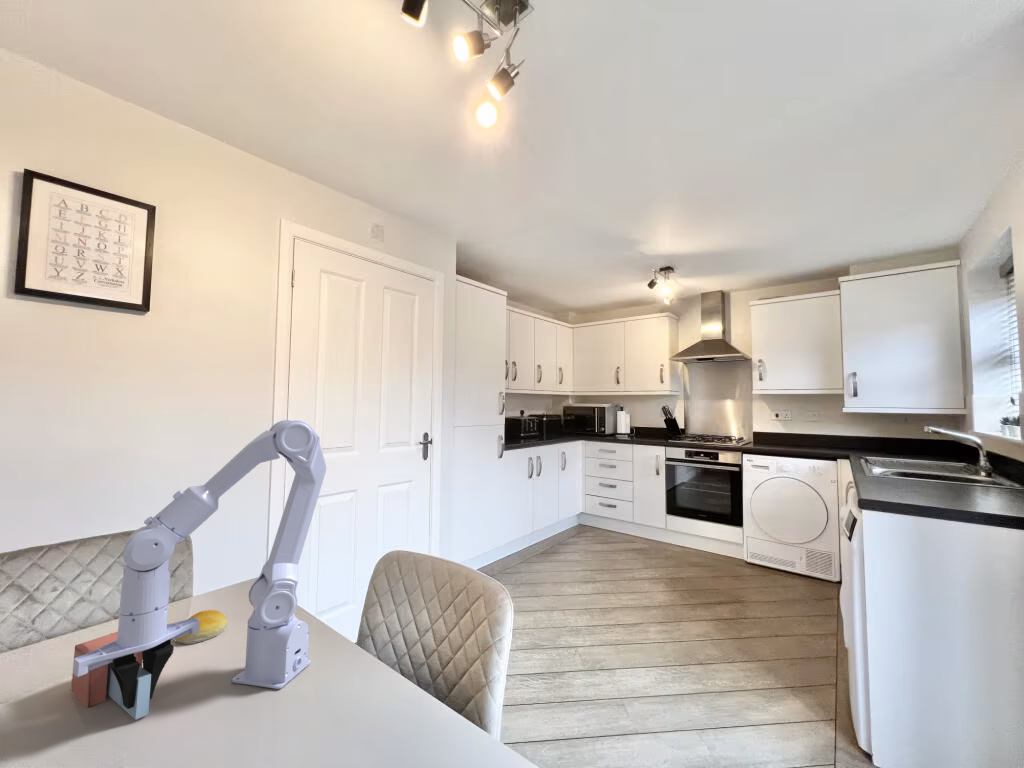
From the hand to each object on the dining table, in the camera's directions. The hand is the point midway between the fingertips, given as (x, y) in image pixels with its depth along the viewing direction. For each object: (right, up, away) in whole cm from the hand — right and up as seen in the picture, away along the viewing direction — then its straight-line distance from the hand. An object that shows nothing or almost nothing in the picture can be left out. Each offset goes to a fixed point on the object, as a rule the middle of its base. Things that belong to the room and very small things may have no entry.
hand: (137, 701), depth 64 cm
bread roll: (-8, -4, +24) cm, 26 cm away
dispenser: (-11, -2, +6) cm, 13 cm away
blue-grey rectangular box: (-4, -2, +2) cm, 5 cm away
